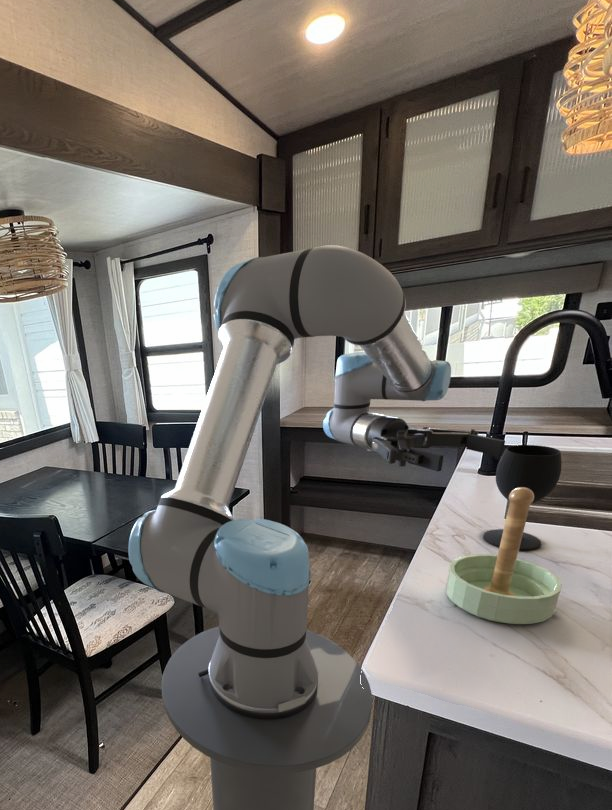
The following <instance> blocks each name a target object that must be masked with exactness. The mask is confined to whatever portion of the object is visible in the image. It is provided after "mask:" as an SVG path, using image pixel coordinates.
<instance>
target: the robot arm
mask: <svg viewBox="0 0 612 810" xmlns="http://www.w3.org/2000/svg"><path fill="white" fill-rule="evenodd" d="M217 286H218V287H217V288H216V292H215V296H214V300H213V307H214V308H215V312H214V313H213V319H214V323H215V327H216V329H217V332H218V340H219V342H220V344H221V346H222V348H223V349H222V351H221V354H220V357H219V360H218V363H217V366H216V369H215V372H214V375H213V377H212V380H211V383H210V386H209V389H208V392H207V394H206V397H205V400H204V403H203V406H202V408H201V412H200V414H199V418H198V420H197V423H196V426H195V429H194V431H193V435H192V436H191V440H190V443H189V446H188V449H187V451H186V454H185V457H184V461H183V463H182V466H181V469H180V472H179V475H178V477H177V480H176V483H175V486H174V488H173V489H172V490H170V491H168V492H166V493H164V494H162V495H161V496H160V498H159V502H158V504H157V507H156V509H153V510H149V511H146V512H145V513H143V515H142V517H139V518H138V519H137V520H136V521H135V523H134V525H133V527H132V529H131V532H130V535H129V539H128V549H127V550H128V559H129V564H130V565H131V567H132V571H133V573H134V575H135V577H137V579H138V580H139V581H140V582H142V583H143V584H145V585H146V586H149V587H151V588H153V589H154V590H155V591H157V592H158V593H162V594H166V595H167V594H168V595H170V596H173V597H175V598H178V599H181V600H183V601H185V602H188V603H191V604H193V605H196V606H199V607H201V608H204V609H207V610H210V611H212V612H214V613H216V614H217V615H218V626H219V628H220V635H219V638H218V641H217V644H216V647H215V650H214V652H213V655H212V658H211V661H210V664H209V668H208V669H206V670H203V671H201V672H198V675H199V677H202V676H205V675H207V674H209V683H210V687H211V690H212V692H213V694H214V695H215V697H216V698H217V699H218V700H219V701H220V702H221V703H222V704H223V705H224V706H226V707H227V708H228V709H230V710H232V711H234V712H236V713H238V714H241V715H243V716H247V717H251V718H256V719H267V720H271V719H281V718H286V717H289V716H293V715H295V714H297V713H299V712H301V711H303V710H304V709H305V708H307V707H308V706H309V705H310V704H311V703H312V701H313V700H314V698H315V696H316V693H317V686H318V671H317V668H316V665H315V663H314V660H313V657H312V654H311V651H310V648H309V646H308V643H307V640H306V630H307V627H308V626H307V623H308V607H309V592H310V590H309V588H310V581H311V567H310V553H309V548H308V545H307V544H306V542H305V540H304V538H303V537H302V536H301V535H300V534H299V533H298V532H297V531H295V529H292V528H290V527H289V526H288V525H285V524H282V523H280V522H277V521H273V520H270V519H265V518H255V519H250V518H245V517H244V518H238V519H234V517H233V515H232V512H231V511H230V507H229V506H230V503H231V500H232V497H233V494H234V492H235V488H236V485H237V482H238V480H239V477H240V474H241V472H242V471H241V470H242V468H243V465H244V463H245V459H246V457H247V453H248V450H249V447H250V444H251V441H252V438H253V436H254V432H255V430H256V427H257V423H258V421H259V418H260V415H261V412H262V409H263V406H264V404H265V403H264V402H265V400H266V397H267V395H268V391H269V388H270V385H271V382H272V379H273V377H274V375H275V371H276V368H277V365H280V364H282V363H283V362H285V361H287V360H288V359H289V358H290V356H291V355H292V351H293V348H294V346H295V342H296V340H297V339H302V338H314V337H342V339H344V340H345V341H346V342H347V343H349V344H351V345H355V346H359V347H360V348H361V349H362V350H363V352H362V351H361V352H360V351H359V352H350V353H349V352H348V353H344V354H341V355H340V356H339V357H337V361H336V367H335V368H336V369H335V375H334V398H333V399H334V405H333V408H331V409H330V410H329V411H328V412H327V413H326V414H325V418H324V420H323V421H322V428H323V432H324V433H325V435H326V436H327V437H329V438H330V439H333V440H335V441H337V442H338V443H343V444H347V445H351V446H356V447H359V448H363V449H366V450H367V452H375V453H377V454H378V455H379V456H380V457H381V458H382V459H384V460H385V462H387V463H388V464H395V463H396V461H398V462H397V463H398V464H397V467H401V468H403V467H406V465H407V464H411V465H414V466H417V467H422V468H424V469H428V470H431V471H435V472H441V471H442V468H443V462H444V461H443V460H444V456H445V455H444V454H441V453H437V452H434V451H430V450H425V449H430V448H431V447H453V448H454V447H456V448H465V449H466V450H469V451H473V452H477V453H482V454H487V455H491V456H495V457H502V455H503V453H504V451H505V450H504V449H505V445H506V440H504V439H499V438H493V437H489V436H484V435H479V431H478V430H476V429H474V428H471V429H470V430H468V429H455V428H441V427H439V428H438V427H431V426H422V429H419V428H417V427H409V425H408V423H407V422H406V421H405V420H404V419H402V418H399V417H394V416H391V415H390V416H389V415H385V414H379V413H375V412H370V406H371V400H387V401H388V400H389V401H419V402H427V401H440V400H442V399H444V397H446V395H447V393H448V390H449V387H450V384H451V377H452V365H451V363H450V362H449V361H446V360H438V359H434V360H431V359H430V358H429V356H428V354H427V352H426V350H425V348H424V346H423V345H422V343H421V340H420V339H419V337H418V335H417V333H416V331H415V330H414V328H413V326H412V324H411V322H410V320H409V318H408V317H407V315H406V312H405V311H406V307H407V306H406V305H407V300H406V295H405V293H404V291H403V288H402V287H401V285H400V283H399V281H398V279H396V277H395V276H394V275H393V274H392V272H391V271H389V270H388V269H387V268H386V267H385V266H384V265H382V264H381V263H380V262H378V261H377V260H376V259H374V258H372V257H370V256H369V255H367V254H366V253H364V252H361V251H358V250H357V249H353V248H351V247H346V246H343V245H333V244H332V245H331V244H327V245H321V246H315V247H311V248H306V249H300V250H295V251H290V252H284V253H280V254H274V255H269V256H268V255H267V256H256V257H252V258H250V259H248V260H246V261H242V262H239V263H237V264H235V265H233V266H231V267H230V268H229V269H228V270H227V271H226V272H225V274H224V275H223V276H222V278H221V280H220V281H219V284H218V285H217Z"/></svg>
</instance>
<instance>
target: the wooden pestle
mask: <svg viewBox="0 0 612 810" xmlns="http://www.w3.org/2000/svg"><path fill="white" fill-rule="evenodd" d="M533 500H534V493H533V492H532V491H531V490H530V489H528V488H525V487H519V488H516V489H514V490H513V491H511V493H510V494H509V501H508V502H509V503H508V508H507V513H506V517H505V522H504V527H503V529H504V530H503V534H502V539H501V543H500V547H498V552H497V555H498V556H497V561H496V565H495V569H494V574H493V578H492V582H491V586H487V587H485V588H484V589H483V590H487V591H490V592H494V593H498V594H503V595H510V596H514V593H513V592H512V591H510V590H509V588H510V584H511V580H512V576H513V572H514V568H515V564H516V560H517V559H518V555H519V552H520V551H519V548H520V544H521V539H522V535H523V532H525V527H526V523H527V518H528V515H529V511H530V507H531V505H532V504H533V503H532V502H533ZM531 503H532V504H531Z"/></svg>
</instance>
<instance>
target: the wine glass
mask: <svg viewBox="0 0 612 810" xmlns="http://www.w3.org/2000/svg"><path fill="white" fill-rule="evenodd" d="M562 463H563V462H562V453H561V451H560V449H557V448H555V447H550V446H546V445H537V444H536V445H535V444H517V445H511V446H508V447H506V449H505V450H504V451H503V454H502V456H500V459H499V461H498V463H497V467H496V471H495V485H496V487H497V489H498V492H500V494H501V495H502V496H503V497H504V498H505V499H506V500H507V501H508V502H510V501H509V494H510V493H511V491H513V490H514V489H516V488H519V487H525V488H528V489H530V490H531V491H532V492H533V493H534V500H533V502H532V503H531V504H530V505H533V504H535V503H536V502H539V501H540V500H543V499H544V498H546V497H547V496H548V495H549V494H551V493H552V492H553V491H554V489H555V488H556V487H557V485H558V482H559V480H560V477H561V474H562V466H563V465H562ZM503 530H504V528H503V529H501V528H499V529H490V530H487V531H485V532H484V533H483V534H482V539H483V540H484V541H485V542H486V543H487V544H489V545H491V546H494V547H497V548H499V547H500V543H501V539H502V534H503ZM541 546H542V541H541V540H540V539H539V538H538V537H537V536H535V535H533V534H530V533H527V532H525V531H523V535H522V539H521V544H520V548H519V552H528V551H534V550H537V549H539V548H541Z"/></svg>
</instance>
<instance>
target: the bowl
mask: <svg viewBox="0 0 612 810" xmlns="http://www.w3.org/2000/svg"><path fill="white" fill-rule="evenodd" d="M497 556H498V554H488V553H486V554H485V553H484V554H482V553H481V554H480V553H479V554H476V553H475V554H469V555H463V556H460V557H458V558H455V559H454V560H452V562H451V563H450V564H449V567H448V574H447V579H446V585H445V593H446V596H447V597H448V598H449V600H450V601H451V602H452V603H453V604H454V605H456V606H457V607H459V608H460V609H462V610H463V611H466V612H467V613H469V614H471V615H473V616H476V617H477V618H481V619H484V620H487V621H491V622H495V623H501V624H509V625H531V624H537V623H543V622H545V621H547V620H549V619H551V618H552V617H553V615H554V613H555V610H556V607H557V604H558V601H559V597H560V594H561V591H562V587H563V585H562V582H561V581H560V579H559V577H558V576H557V575H556V574H554V573H553V572H551V571H550V570H549V569H547V568H545V567H542V566H541V565H539V564H536V563H533V562H530V561H527V560H524V559H521V558H517V560H516V564H515V568H514V572H513V576H512V580H511V584H510V588H509V590H510V591H512V592H513V593H514V596H510V595H503V594H498V593H494V592H490V591H487V590H483V589H484V588H485V587H487V586H491V582H492V578H493V574H494V569H495V565H496V561H497Z"/></svg>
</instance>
